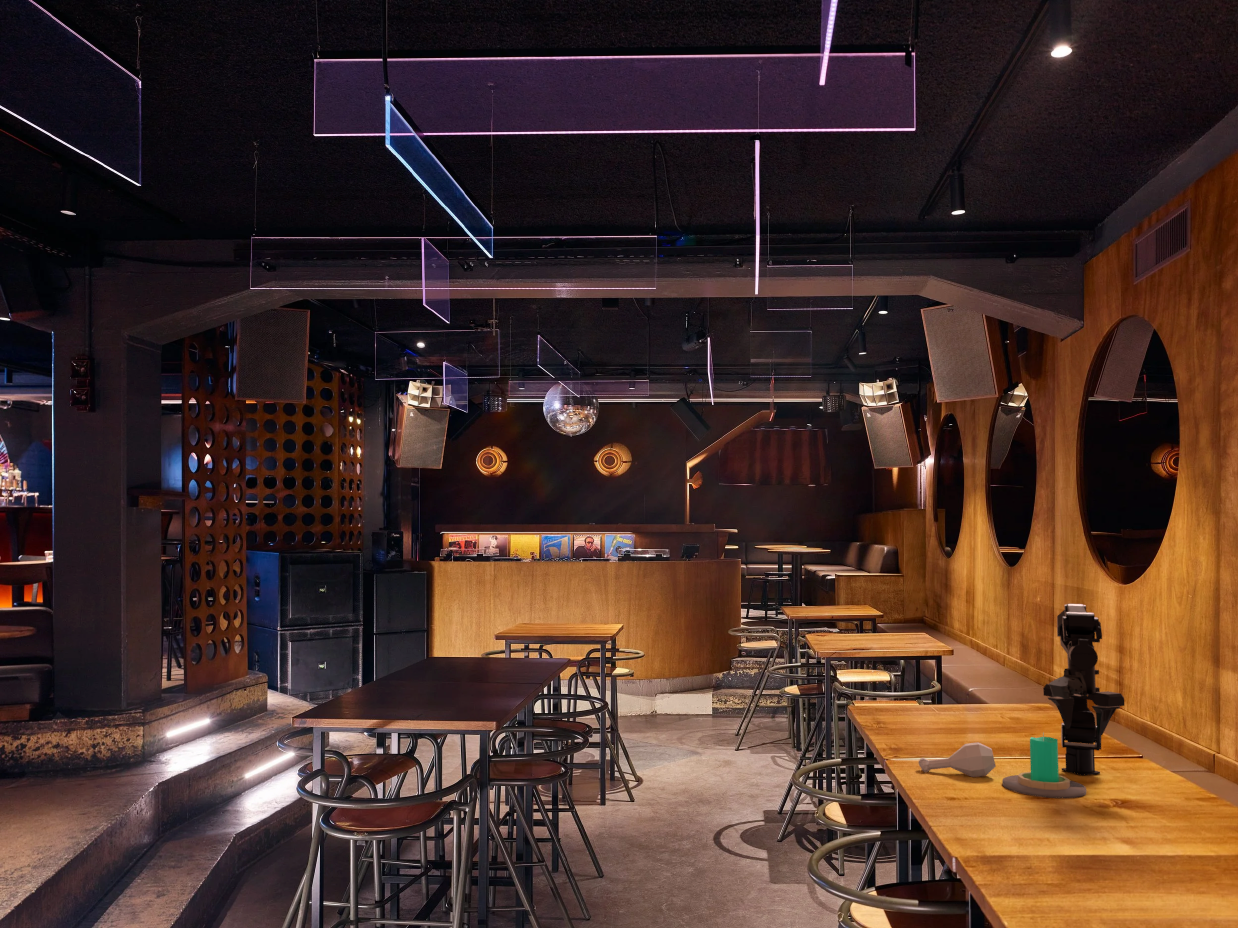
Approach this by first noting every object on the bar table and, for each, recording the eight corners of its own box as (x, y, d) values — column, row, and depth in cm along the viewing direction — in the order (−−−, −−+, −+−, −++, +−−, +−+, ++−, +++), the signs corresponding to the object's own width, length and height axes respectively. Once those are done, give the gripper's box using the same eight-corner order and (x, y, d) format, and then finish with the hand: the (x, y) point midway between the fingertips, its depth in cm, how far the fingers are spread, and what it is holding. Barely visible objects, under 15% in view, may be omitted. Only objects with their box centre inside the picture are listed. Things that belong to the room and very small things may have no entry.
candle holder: (1042, 776, 234) (1041, 766, 234) (1104, 794, 217) (1103, 783, 218) (985, 782, 227) (985, 771, 227) (1045, 801, 210) (1045, 789, 211)
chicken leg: (921, 770, 244) (914, 742, 242) (994, 761, 238) (988, 733, 236) (923, 790, 236) (916, 761, 234) (999, 782, 230) (992, 753, 228)
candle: (1057, 782, 224) (1056, 731, 225) (1059, 788, 218) (1058, 735, 219) (1030, 780, 226) (1029, 729, 227) (1031, 785, 220) (1030, 733, 221)
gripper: (1025, 661, 231) (1027, 726, 230) (1089, 671, 214) (1091, 741, 213) (1059, 660, 236) (1061, 724, 234) (1124, 669, 218) (1127, 738, 217)
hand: (1083, 731), depth 224 cm, fingers open, 9 cm apart
